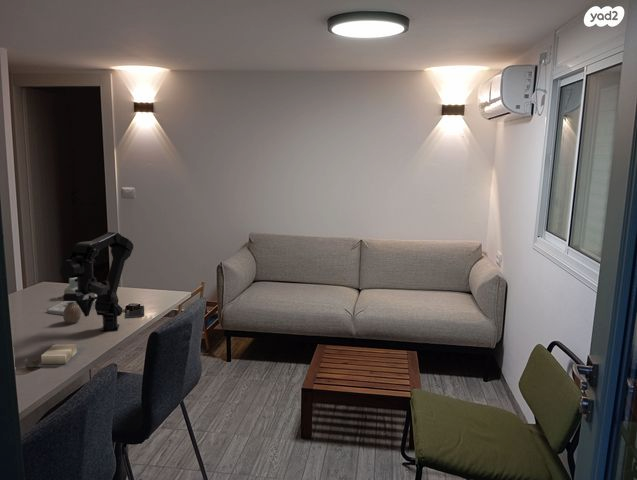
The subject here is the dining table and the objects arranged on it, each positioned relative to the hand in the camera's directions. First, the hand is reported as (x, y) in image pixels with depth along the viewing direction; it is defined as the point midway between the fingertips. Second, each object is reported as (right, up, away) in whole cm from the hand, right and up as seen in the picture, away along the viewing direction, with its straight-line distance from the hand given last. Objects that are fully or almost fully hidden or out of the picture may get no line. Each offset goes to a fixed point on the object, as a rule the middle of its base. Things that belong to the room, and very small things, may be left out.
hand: (86, 316), depth 191 cm
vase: (-18, -7, +25) cm, 31 cm away
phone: (+4, -5, +39) cm, 40 cm away
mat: (-4, -13, -11) cm, 18 cm away
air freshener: (-33, 0, +60) cm, 69 cm away
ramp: (-23, -4, +43) cm, 49 cm away
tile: (-4, -11, -9) cm, 14 cm away
